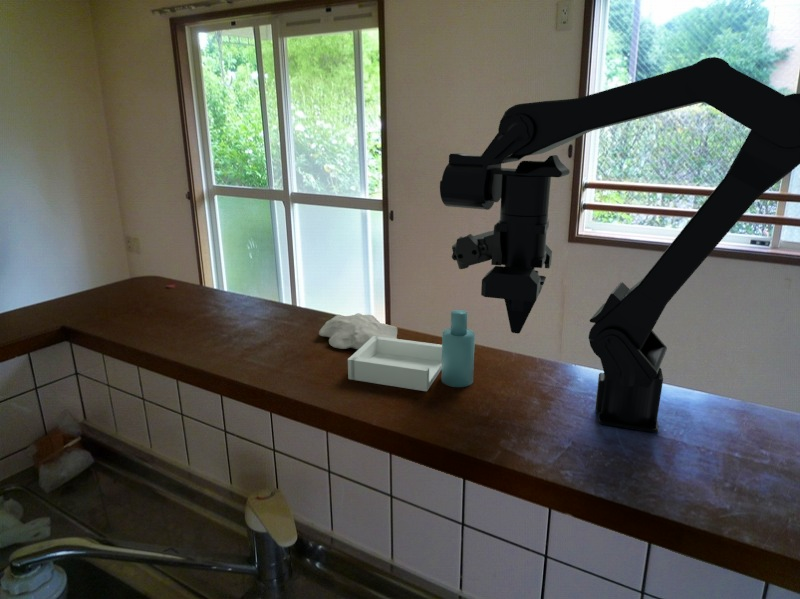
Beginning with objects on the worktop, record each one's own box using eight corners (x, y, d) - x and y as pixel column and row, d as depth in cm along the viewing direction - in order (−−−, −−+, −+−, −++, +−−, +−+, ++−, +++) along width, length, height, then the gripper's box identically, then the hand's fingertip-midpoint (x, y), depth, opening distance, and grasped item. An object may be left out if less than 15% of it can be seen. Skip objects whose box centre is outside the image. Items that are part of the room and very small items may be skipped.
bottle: (476, 376, 78) (478, 309, 75) (469, 389, 75) (471, 319, 72) (446, 371, 80) (447, 305, 77) (437, 384, 76) (438, 315, 73)
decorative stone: (305, 343, 92) (379, 373, 84) (304, 323, 90) (378, 352, 82) (347, 317, 100) (417, 341, 92) (346, 298, 98) (417, 321, 90)
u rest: (445, 363, 82) (445, 345, 82) (426, 391, 74) (426, 370, 73) (373, 353, 86) (373, 335, 85) (348, 379, 78) (347, 359, 77)
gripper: (475, 200, 79) (471, 304, 83) (439, 221, 62) (436, 350, 67) (556, 203, 75) (547, 312, 80) (541, 227, 58) (530, 363, 63)
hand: (515, 332), depth 72 cm, fingers closed
